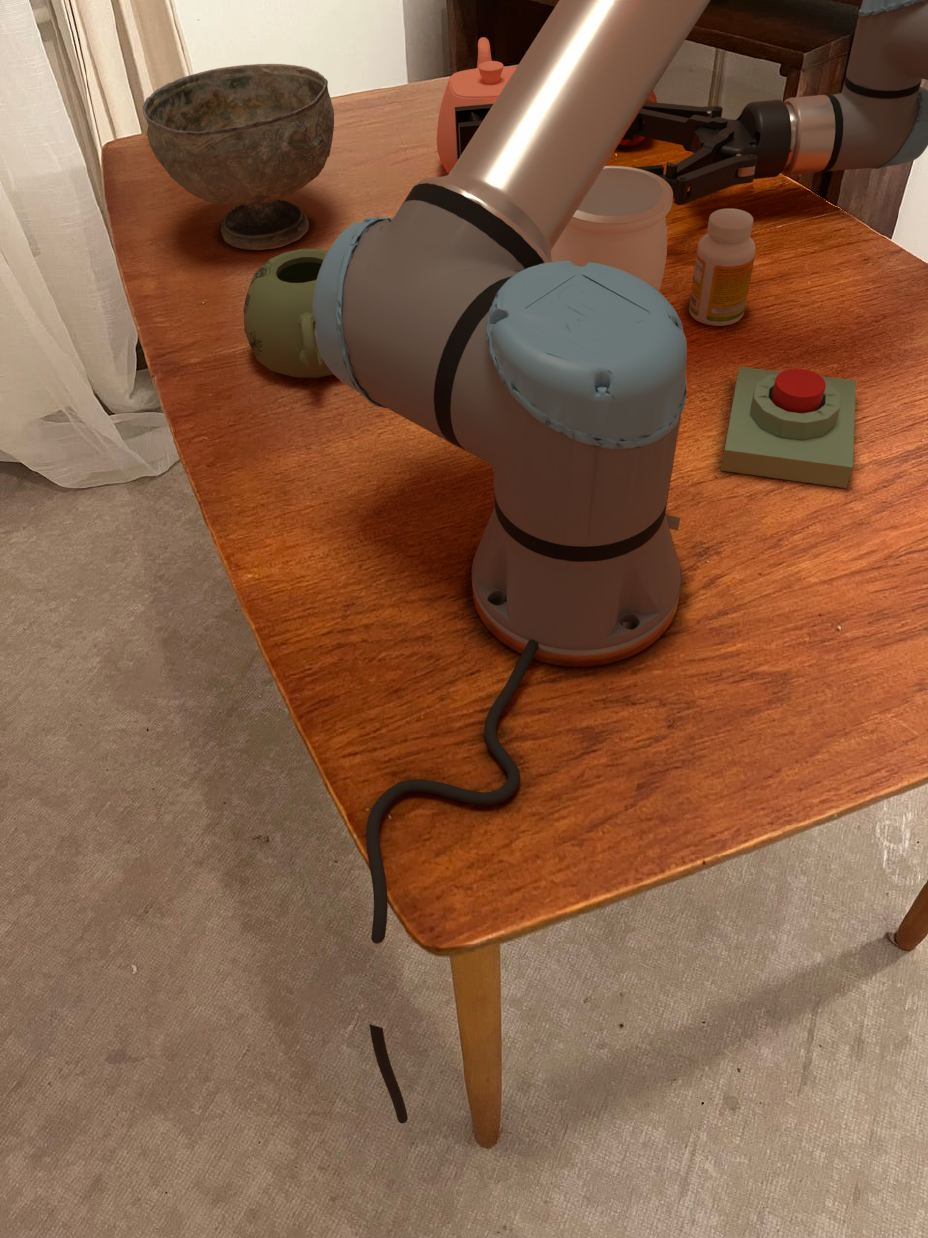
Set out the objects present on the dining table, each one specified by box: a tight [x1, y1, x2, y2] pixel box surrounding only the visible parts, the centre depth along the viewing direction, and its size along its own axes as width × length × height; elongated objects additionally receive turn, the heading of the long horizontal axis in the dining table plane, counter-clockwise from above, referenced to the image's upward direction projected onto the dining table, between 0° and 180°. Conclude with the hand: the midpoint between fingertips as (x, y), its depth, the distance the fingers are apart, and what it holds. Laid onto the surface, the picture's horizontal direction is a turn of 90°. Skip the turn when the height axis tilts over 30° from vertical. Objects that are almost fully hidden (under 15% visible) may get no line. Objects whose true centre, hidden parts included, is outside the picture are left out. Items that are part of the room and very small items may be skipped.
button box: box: [720, 366, 857, 489], centre depth 82 cm, size 12×10×4 cm
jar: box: [551, 165, 674, 292], centre depth 88 cm, size 11×10×15 cm
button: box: [772, 367, 826, 414], centre depth 81 cm, size 4×4×2 cm
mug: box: [243, 248, 335, 379], centre depth 92 cm, size 16×13×9 cm
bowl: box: [142, 63, 335, 251], centre depth 107 cm, size 20×19×15 cm
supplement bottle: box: [688, 207, 757, 327], centre depth 93 cm, size 5×5×10 cm
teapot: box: [436, 36, 517, 175], centre depth 116 cm, size 13×20×12 cm, turn 5°
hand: (585, 156), depth 104 cm, fingers open, 13 cm apart
